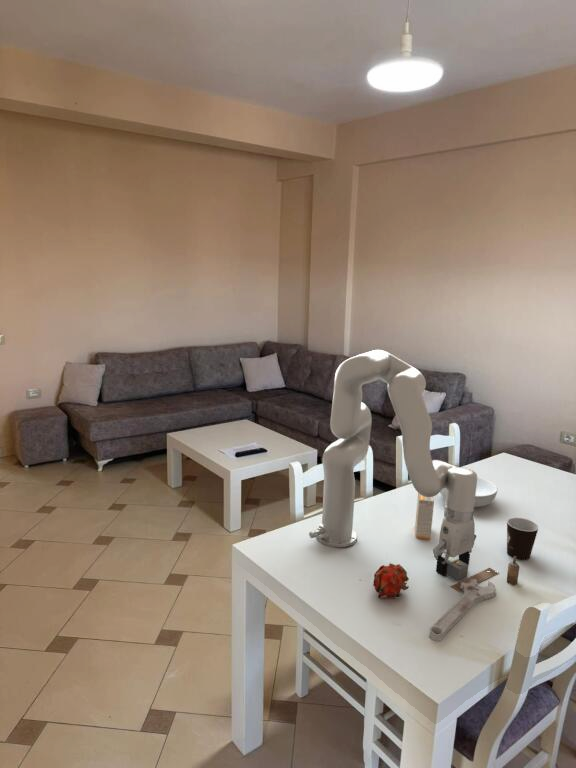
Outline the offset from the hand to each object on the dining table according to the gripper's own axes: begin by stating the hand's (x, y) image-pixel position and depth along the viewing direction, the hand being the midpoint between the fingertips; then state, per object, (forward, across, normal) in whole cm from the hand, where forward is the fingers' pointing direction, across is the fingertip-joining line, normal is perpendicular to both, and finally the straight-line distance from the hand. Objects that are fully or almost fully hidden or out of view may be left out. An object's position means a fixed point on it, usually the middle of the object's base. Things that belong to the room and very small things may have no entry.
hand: (452, 569), depth 151 cm
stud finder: (+2, 0, 0) cm, 2 cm away
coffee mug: (+2, +27, -4) cm, 27 cm away
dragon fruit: (+2, -22, +2) cm, 22 cm away
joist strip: (+1, +3, -6) cm, 6 cm away
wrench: (0, -13, -9) cm, 16 cm away
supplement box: (+2, +11, +20) cm, 23 cm away
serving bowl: (+2, +43, +28) cm, 52 cm away
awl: (+1, +11, -12) cm, 16 cm away
